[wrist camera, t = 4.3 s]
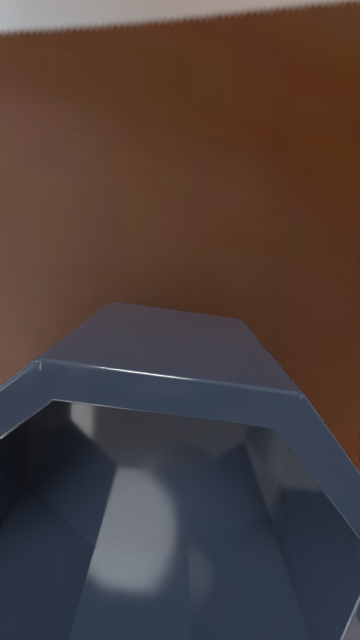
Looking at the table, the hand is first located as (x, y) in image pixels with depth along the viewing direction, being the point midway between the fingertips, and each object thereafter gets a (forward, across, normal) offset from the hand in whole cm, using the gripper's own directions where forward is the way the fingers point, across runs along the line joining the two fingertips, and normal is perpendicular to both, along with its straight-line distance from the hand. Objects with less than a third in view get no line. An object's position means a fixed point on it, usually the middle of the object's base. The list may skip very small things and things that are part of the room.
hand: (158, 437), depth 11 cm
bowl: (0, 0, -1) cm, 1 cm away
